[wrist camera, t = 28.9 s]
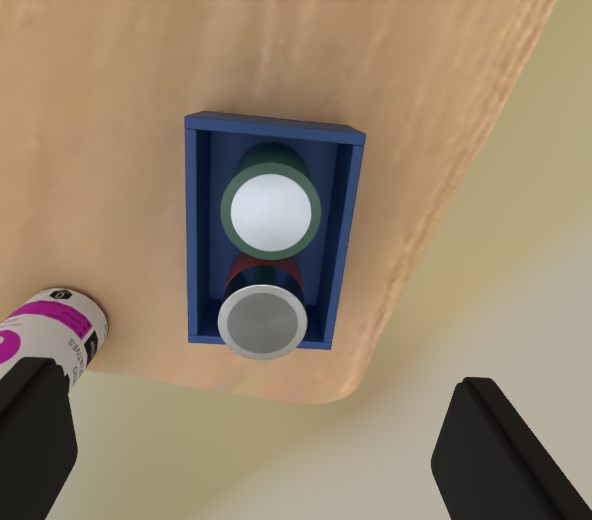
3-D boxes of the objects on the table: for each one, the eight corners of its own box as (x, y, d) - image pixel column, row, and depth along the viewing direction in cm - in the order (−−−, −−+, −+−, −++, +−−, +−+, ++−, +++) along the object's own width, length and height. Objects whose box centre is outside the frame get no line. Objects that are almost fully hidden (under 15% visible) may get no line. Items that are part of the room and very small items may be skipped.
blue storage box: (202, 110, 33) (184, 115, 26) (348, 125, 34) (366, 134, 27) (202, 300, 40) (188, 342, 33) (321, 308, 41) (330, 350, 34)
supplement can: (12, 295, 39) (-132, 407, 25) (89, 276, 38) (-14, 380, 25) (51, 358, 42) (-57, 488, 28) (123, 341, 42) (48, 465, 28)
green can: (236, 138, 33) (220, 157, 23) (312, 145, 33) (328, 167, 24) (234, 212, 36) (218, 257, 26) (304, 217, 36) (315, 264, 26)
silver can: (233, 230, 36) (217, 281, 27) (302, 236, 37) (312, 287, 27) (231, 292, 39) (216, 359, 29) (296, 296, 39) (302, 363, 30)
